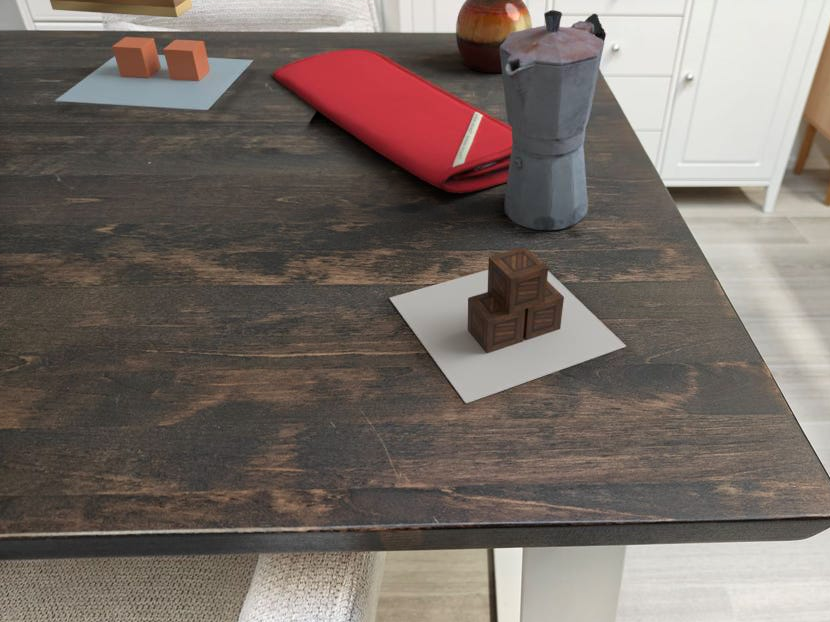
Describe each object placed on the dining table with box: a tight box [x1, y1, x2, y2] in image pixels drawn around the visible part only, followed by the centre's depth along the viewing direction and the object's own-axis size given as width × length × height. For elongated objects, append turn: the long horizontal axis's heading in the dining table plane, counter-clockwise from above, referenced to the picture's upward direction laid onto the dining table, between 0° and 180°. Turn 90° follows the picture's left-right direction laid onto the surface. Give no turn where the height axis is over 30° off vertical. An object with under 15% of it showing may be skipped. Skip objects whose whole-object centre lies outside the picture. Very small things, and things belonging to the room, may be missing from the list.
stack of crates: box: [388, 246, 627, 404], centre depth 62 cm, size 15×15×7 cm
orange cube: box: [111, 36, 161, 78], centre depth 101 cm, size 4×4×4 cm
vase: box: [455, 0, 533, 74], centre depth 106 cm, size 11×11×15 cm
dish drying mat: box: [271, 48, 513, 194], centre depth 93 cm, size 16×41×4 cm, turn 36°
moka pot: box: [500, 9, 607, 231], centre depth 72 cm, size 10×15×20 cm, turn 145°
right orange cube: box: [163, 39, 210, 81], centre depth 101 cm, size 4×4×4 cm
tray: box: [54, 54, 254, 111], centre depth 101 cm, size 20×18×1 cm
